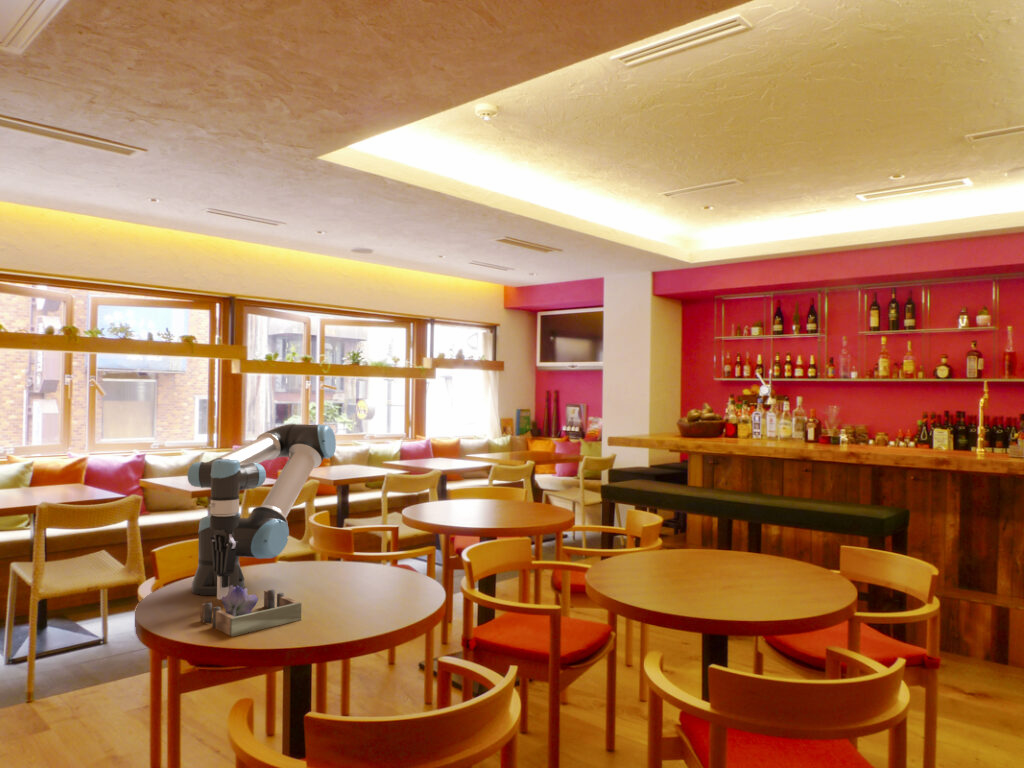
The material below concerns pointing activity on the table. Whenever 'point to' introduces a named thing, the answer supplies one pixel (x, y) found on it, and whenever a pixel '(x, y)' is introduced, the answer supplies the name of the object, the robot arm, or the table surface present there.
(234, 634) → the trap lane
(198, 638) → the table surface
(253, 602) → the flower
